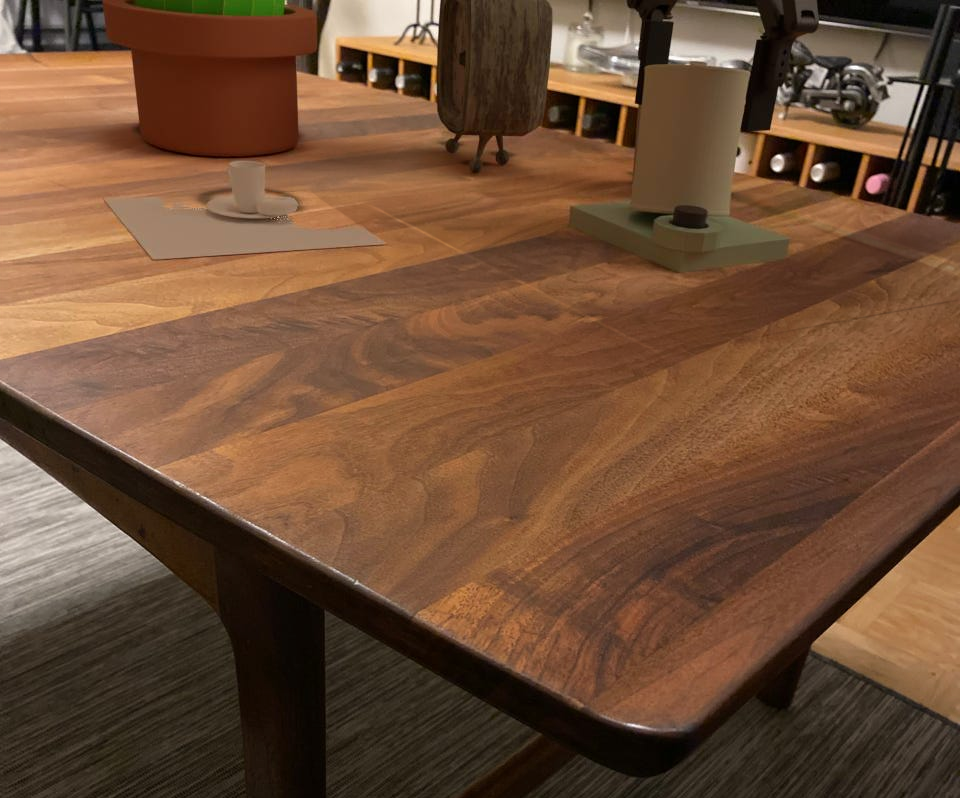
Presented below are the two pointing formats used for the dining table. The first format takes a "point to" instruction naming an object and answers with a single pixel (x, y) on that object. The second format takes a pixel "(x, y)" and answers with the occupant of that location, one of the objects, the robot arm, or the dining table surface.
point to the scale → (679, 237)
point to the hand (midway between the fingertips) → (699, 116)
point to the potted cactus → (215, 71)
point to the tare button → (689, 217)
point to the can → (688, 137)
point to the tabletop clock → (492, 70)
